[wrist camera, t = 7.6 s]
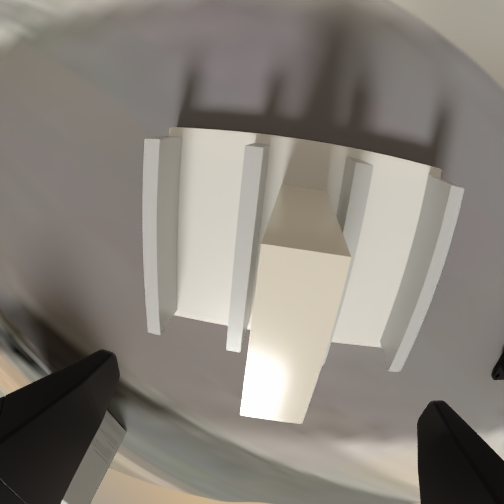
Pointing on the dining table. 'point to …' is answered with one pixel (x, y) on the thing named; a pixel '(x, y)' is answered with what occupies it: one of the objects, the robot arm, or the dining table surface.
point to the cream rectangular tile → (294, 304)
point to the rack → (256, 220)
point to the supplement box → (95, 462)
